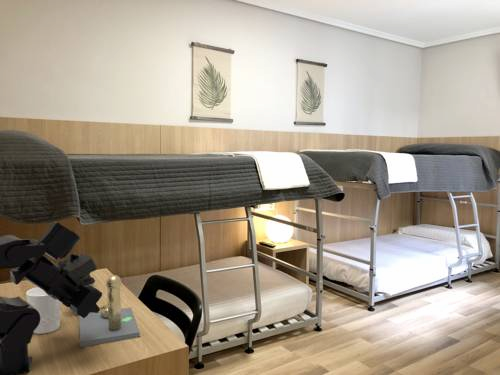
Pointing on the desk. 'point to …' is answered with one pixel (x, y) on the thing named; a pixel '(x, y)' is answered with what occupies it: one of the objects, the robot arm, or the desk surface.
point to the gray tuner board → (107, 328)
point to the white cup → (45, 310)
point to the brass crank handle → (113, 303)
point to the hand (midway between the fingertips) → (98, 310)
